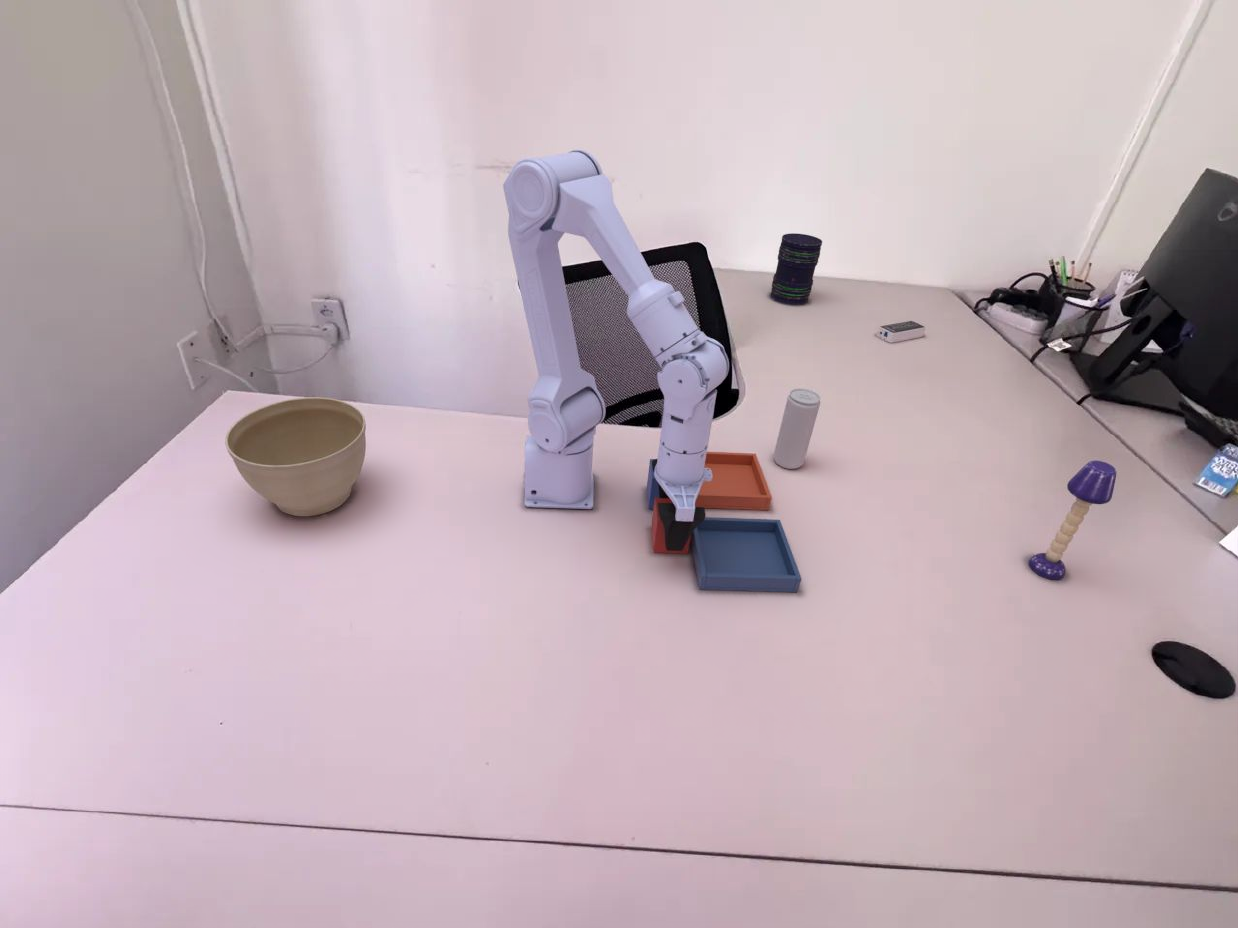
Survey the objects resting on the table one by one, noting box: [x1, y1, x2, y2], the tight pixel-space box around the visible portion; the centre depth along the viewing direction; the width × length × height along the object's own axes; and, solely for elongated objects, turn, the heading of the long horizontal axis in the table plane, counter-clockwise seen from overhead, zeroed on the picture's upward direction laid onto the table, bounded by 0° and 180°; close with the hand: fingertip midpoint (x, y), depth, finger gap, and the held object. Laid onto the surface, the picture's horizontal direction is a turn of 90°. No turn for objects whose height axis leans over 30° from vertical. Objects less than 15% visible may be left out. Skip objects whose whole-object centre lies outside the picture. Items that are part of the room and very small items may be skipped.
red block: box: [650, 498, 691, 555], centre depth 84 cm, size 4×4×6 cm
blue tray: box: [690, 516, 802, 593], centre depth 83 cm, size 12×11×2 cm
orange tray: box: [695, 451, 773, 511], centre depth 97 cm, size 12×11×2 cm
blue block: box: [645, 458, 659, 510], centre depth 92 cm, size 4×4×6 cm
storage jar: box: [769, 232, 823, 306], centre depth 162 cm, size 10×10×15 cm
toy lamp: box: [1028, 459, 1117, 581], centre depth 82 cm, size 5×5×17 cm
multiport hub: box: [876, 320, 927, 344], centre depth 150 cm, size 4×11×2 cm, turn 118°
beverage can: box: [772, 388, 822, 470], centre depth 100 cm, size 5×5×12 cm
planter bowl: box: [225, 396, 367, 517], centre depth 85 cm, size 16×16×11 cm
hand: (671, 529), depth 85 cm, fingers open, 7 cm apart
